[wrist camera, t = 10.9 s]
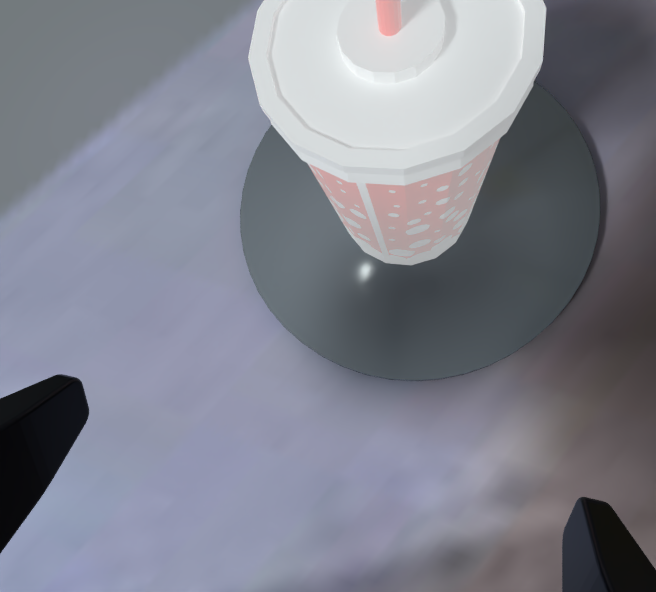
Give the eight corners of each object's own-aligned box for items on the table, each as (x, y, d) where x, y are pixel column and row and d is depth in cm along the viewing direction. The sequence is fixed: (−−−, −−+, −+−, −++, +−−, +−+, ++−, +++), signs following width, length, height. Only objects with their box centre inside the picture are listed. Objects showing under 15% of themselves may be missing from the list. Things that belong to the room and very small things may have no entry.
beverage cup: (512, 150, 19) (709, -468, 6) (464, 307, 18) (571, -11, 5) (353, 115, 21) (226, -445, 7) (301, 259, 20) (42, -89, 6)
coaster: (676, 258, 18) (684, 253, 18) (346, 450, 19) (343, 451, 18) (464, 1, 22) (465, -11, 21) (193, 165, 22) (187, 159, 22)
